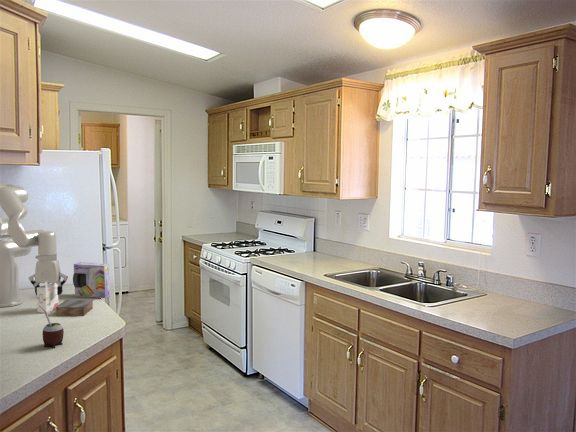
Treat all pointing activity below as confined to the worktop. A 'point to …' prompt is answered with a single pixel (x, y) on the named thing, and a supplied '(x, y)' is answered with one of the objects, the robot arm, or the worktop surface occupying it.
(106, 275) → the cake pan box
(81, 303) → the display podium
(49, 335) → the mate gourd
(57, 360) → the worktop surface
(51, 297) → the ink cartridge box
